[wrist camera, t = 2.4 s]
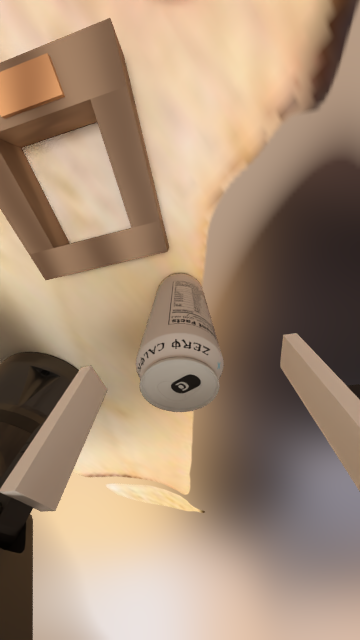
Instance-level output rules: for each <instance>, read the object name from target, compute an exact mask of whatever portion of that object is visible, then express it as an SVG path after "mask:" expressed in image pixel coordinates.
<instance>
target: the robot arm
mask: <svg viewBox="0 0 360 640" xmlns="http://www.w3.org/2000/svg"><path fill="white" fill-rule="evenodd" d="M280 367H281V368H282V370H283V372H284V373H285V374H286V376H287V378H288V379H289V381H290V383H291V384H292V386H293V387H294V389H295V390H296V392H297V394H298V395H299V397H300V398H301V400H302V401H303V403H304V405H305V406H306V408H307V409H308V411H309V412H310V414H311V416H312V417H313V419H314V420H315V422H316V423H317V425H318V427H319V428H320V430H321V431H322V433H323V434H324V436H325V437H326V439H327V441H328V442H329V444H330V445H331V447H332V448H333V450H334V452H335V453H336V455H337V456H338V458H339V459H340V461H341V463H342V464H343V466H344V467H345V469H346V470H347V472H348V473H349V475H350V477H351V478H352V480H353V482H354V483H355V485H356V486H357V488H358V489H359V491H360V385H359V384H358V385H348V386H346V385H345V384H344V383H343V382H342V381H341V380H340V379H339V377H338V376H337V375H336V374H335V373H334V372H333V371H332V370H331V369H330V368H329V367H328V366H327V365H326V364H325V363H324V362H323V361H322V360H321V359H320V358H319V356H318V355H317V354H316V353H315V352H314V351H313V350H312V349H311V348H310V347H309V346H308V345H307V344H306V343H305V342H304V341H303V340H302V339H301V338H300V336H299V335H298V334H297V333H294V334H288V335H283V344H282V353H281V363H280ZM106 392H107V388H106V387H105V385H104V384H103V382H102V381H101V379H100V378H99V376H98V375H97V373H96V372H95V370H94V369H93V367H92V366H85V367H81V369H80V370H79V371H78V370H77V369H75V368H74V367H73V366H71V365H70V364H68V363H66V362H65V361H63V360H60V359H58V358H56V357H53V356H49V355H46V354H41V353H33V352H26V353H18V354H15V355H12V356H10V357H8V358H7V359H6V360H5V361H3V362H2V363H1V364H0V640H33V639H32V638H33V635H32V634H33V633H32V632H33V631H32V630H33V627H32V625H33V622H32V621H33V606H32V605H33V589H32V588H33V519H32V515H30V513H31V511H32V509H33V508H35V509H37V510H39V511H55V510H56V508H57V506H58V503H59V501H60V499H61V496H62V494H63V492H64V489H65V487H66V485H67V482H68V480H69V478H70V475H71V473H72V471H73V469H74V466H75V464H76V462H77V459H78V457H79V455H80V452H81V450H82V448H83V446H84V443H85V441H86V439H87V436H88V434H89V432H90V429H91V427H92V425H93V422H94V420H95V418H96V415H97V413H98V411H99V409H100V406H101V404H102V402H103V399H104V397H105V395H106Z"/></svg>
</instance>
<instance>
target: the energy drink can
mask: <svg viewBox="0 0 360 640" xmlns="http://www.w3.org/2000/svg"><path fill="white" fill-rule="evenodd" d="M136 369H137V373H138V375H139V377H140V391H141V393H142V395H143V397H144V398H145V399H146V400H147V401H148V402H149V403H150V404H152V405H154V406H155V407H158V408H160V409H163V410H167V411H172V412H187V411H193V410H196V409H199V408H202V407H204V406H206V405H207V404H209V403H210V402H211V401H212V400H213V399H214V398H215V397H216V395H217V393H218V390H219V378H220V376H221V374H222V370H223V357H222V354H221V350H220V348H219V344H218V341H217V337H216V334H215V330H214V327H213V323H212V320H211V317H210V313H209V310H208V307H207V303H206V300H205V296H204V293H203V290H202V287H201V285H200V283H199V282H198V281H197V280H196V279H195V278H193V277H192V276H190V275H187V274H173V275H170V276H168V277H167V278H165V279H164V280H163V281H162V282H161V284H160V285H159V287H158V290H157V293H156V296H155V299H154V303H153V306H152V309H151V312H150V316H149V319H148V322H147V325H146V329H145V332H144V335H143V338H142V341H141V345H140V348H139V351H138V354H137V358H136Z"/></svg>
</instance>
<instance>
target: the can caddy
mask: <svg viewBox="0 0 360 640" xmlns="http://www.w3.org/2000/svg"><path fill="white" fill-rule="evenodd" d="M95 122H98V125H99V128H100V131H101V134H102V137H103V141H104V144H105V147H106V150H107V153H108V156H109V159H110V162H111V165H112V168H113V172H114V175H115V178H116V181H117V184H118V187H119V190H120V193H121V196H122V199H123V203H124V206H125V209H126V212H127V215H128V218H129V221H130V224H131V227H132V228H130V229H126V230H122V231H118V232H114V233H110V234H106V235H103V236H99V237H95V238H91V239H87V240H83V241H79V242H76V243H72V244H69V242H68V240H67V238H66V236H65V234H64V232H63V230H62V228H61V226H60V224H59V222H58V220H57V218H56V216H55V214H54V212H53V210H52V208H51V206H50V204H49V202H48V200H47V198H46V196H45V194H44V192H43V190H42V188H41V186H40V184H39V182H38V181H37V179H36V177H35V175H34V173H33V171H32V169H31V167H30V165H29V163H28V161H27V159H26V157H25V155H24V153H23V151H22V149H21V148H22V147H24V146H27V145H30V144H33V143H36V142H39V141H42V140H45V139H48V138H51V137H54V136H57V135H60V134H63V133H66V132H69V131H72V130H74V129H77V128H80V127H83V126H86V125H89V124H92V123H95ZM0 209H1V211H2V212H3V214H4V215H5V217H6V218H7V220H8V222H9V223H10V225H11V226H12V228H13V230H14V231H15V233H16V234H17V236H18V237H19V239H20V241H21V242H22V244H23V245H24V247H25V248H26V250H27V252H28V253H29V255H30V256H31V258H32V259H33V261H34V263H35V264H36V266H37V267H38V269H39V271H40V272H41V274H42V275H43V277H44V278H45V280H49V279H53V278H57V277H62V276H66V275H70V274H74V273H78V272H83V271H87V270H91V269H95V268H100V267H104V266H108V265H112V264H117V263H121V262H125V261H129V260H133V259H138V258H142V257H146V256H150V255H155V254H159V253H163V252H167V251H168V248H169V245H168V241H167V236H166V232H165V228H164V224H163V220H162V215H161V211H160V207H159V203H158V198H157V194H156V190H155V186H154V182H153V177H152V173H151V169H150V165H149V160H148V156H147V152H146V148H145V144H144V139H143V135H142V131H141V127H140V122H139V118H138V114H137V110H136V106H135V101H134V97H133V93H132V89H131V85H130V80H129V76H128V72H127V68H126V63H125V59H124V55H123V52H122V50H121V47H120V44H119V41H118V38H117V36H116V33H115V30H114V27H113V24H112V22H111V19H110V18H109V19H106V20H104V21H101V22H99V23H97V24H94V25H92V26H89V27H87V28H84V29H82V30H79V31H77V32H75V33H72V34H70V35H67V36H65V37H62V38H60V39H57V40H55V41H53V42H50V43H48V44H45V45H43V46H40V47H38V48H35V49H33V50H31V51H28V52H26V53H23V54H21V55H18V56H16V57H14V58H11V59H9V60H6V61H4V62H1V63H0Z"/></svg>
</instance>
